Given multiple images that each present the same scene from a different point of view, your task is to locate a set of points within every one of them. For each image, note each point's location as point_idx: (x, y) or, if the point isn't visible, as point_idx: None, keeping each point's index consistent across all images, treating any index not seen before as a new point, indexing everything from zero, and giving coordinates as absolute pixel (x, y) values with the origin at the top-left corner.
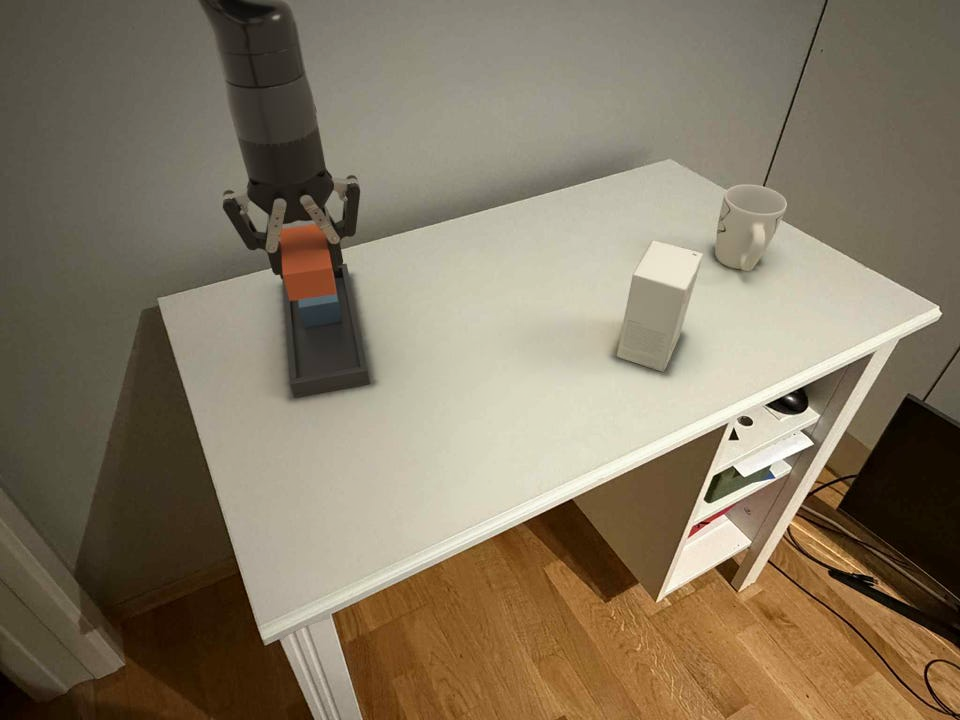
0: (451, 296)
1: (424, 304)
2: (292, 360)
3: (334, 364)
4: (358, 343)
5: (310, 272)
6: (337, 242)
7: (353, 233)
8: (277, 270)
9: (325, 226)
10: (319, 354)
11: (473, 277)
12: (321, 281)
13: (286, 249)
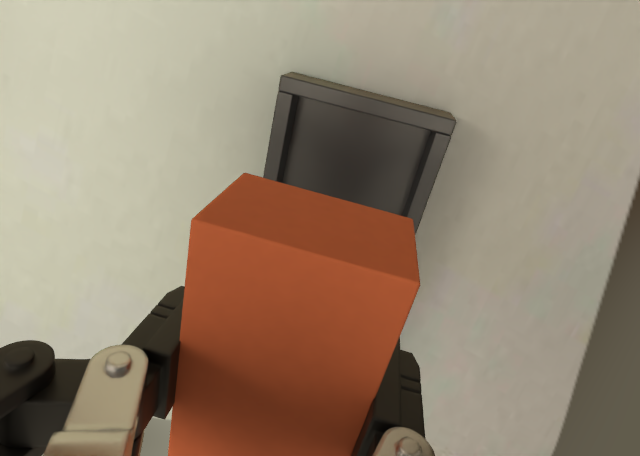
0: (75, 229)
1: (128, 235)
2: (421, 190)
3: (339, 157)
4: (273, 169)
5: (293, 243)
6: (118, 347)
7: (14, 348)
8: (401, 364)
9: (85, 435)
10: (357, 201)
11: (27, 255)
12: (269, 209)
13: (339, 425)
